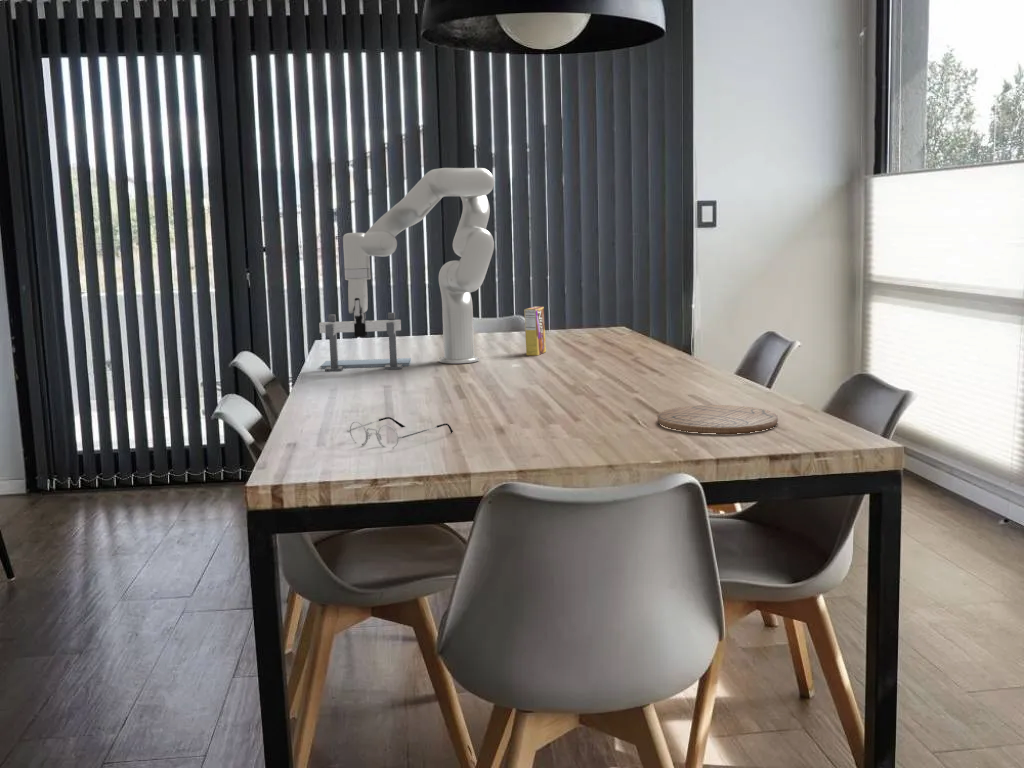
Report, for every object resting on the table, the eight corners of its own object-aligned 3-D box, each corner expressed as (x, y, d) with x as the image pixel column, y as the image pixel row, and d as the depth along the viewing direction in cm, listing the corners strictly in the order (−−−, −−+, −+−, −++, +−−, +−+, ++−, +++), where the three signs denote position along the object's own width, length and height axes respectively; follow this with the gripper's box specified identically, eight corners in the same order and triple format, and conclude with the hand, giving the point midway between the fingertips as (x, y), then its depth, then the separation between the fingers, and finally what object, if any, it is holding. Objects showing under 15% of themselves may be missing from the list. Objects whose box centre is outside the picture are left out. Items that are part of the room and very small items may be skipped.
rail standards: (327, 368, 314) (324, 314, 312) (402, 366, 315) (399, 312, 313) (323, 373, 305) (319, 317, 302) (400, 371, 306) (397, 314, 303)
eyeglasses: (340, 444, 208) (339, 420, 207) (400, 428, 223) (399, 405, 222) (401, 452, 199) (400, 427, 198) (458, 435, 214) (458, 411, 213)
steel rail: (320, 332, 307) (320, 322, 306) (401, 329, 308) (400, 319, 307) (319, 333, 304) (319, 323, 304) (400, 330, 305) (400, 320, 305)
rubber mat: (326, 363, 326) (326, 360, 326) (411, 361, 327) (410, 358, 327) (321, 368, 315) (321, 365, 315) (409, 365, 316) (408, 362, 316)
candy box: (533, 352, 341) (532, 306, 338) (546, 352, 339) (545, 306, 337) (525, 355, 332) (523, 308, 330) (537, 355, 331) (536, 308, 328)
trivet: (694, 409, 234) (694, 401, 234) (797, 420, 219) (797, 411, 218) (635, 428, 215) (635, 419, 215) (743, 441, 200) (743, 432, 199)
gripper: (348, 273, 311) (351, 333, 314) (341, 276, 295) (345, 339, 298) (372, 272, 312) (375, 332, 315) (367, 275, 295) (370, 338, 298)
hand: (360, 335), depth 306 cm, fingers open, 3 cm apart
